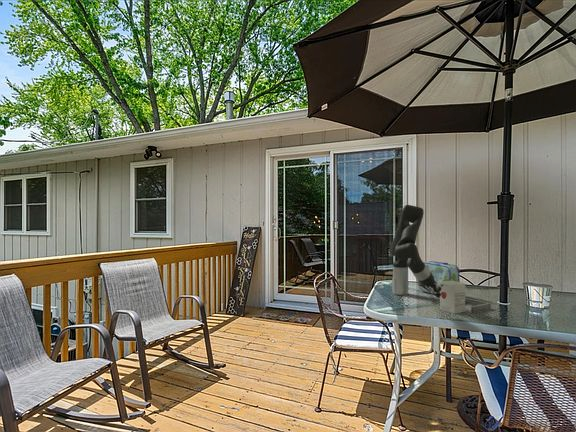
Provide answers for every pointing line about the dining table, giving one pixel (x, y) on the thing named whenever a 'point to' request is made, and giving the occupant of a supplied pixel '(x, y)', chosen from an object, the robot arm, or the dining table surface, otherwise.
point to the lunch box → (442, 272)
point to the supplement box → (452, 297)
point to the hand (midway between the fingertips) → (438, 296)
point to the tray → (477, 305)
